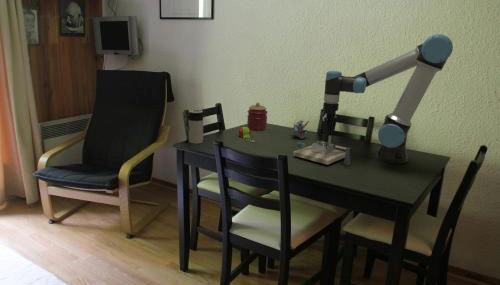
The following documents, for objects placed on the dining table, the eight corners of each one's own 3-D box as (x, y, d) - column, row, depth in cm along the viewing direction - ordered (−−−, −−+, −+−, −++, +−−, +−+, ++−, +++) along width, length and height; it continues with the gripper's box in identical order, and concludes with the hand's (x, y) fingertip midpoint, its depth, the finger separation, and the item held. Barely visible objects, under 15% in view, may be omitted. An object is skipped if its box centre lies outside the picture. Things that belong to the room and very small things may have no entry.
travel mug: (204, 141, 224) (204, 110, 219) (201, 144, 216) (201, 112, 211) (190, 140, 224) (190, 109, 220) (187, 143, 217) (186, 111, 212)
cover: (333, 151, 200) (334, 142, 199) (324, 154, 194) (325, 144, 193) (319, 148, 205) (320, 138, 204) (311, 151, 200) (312, 141, 198)
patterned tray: (347, 156, 200) (348, 148, 199) (327, 164, 186) (328, 156, 185) (308, 146, 216) (309, 139, 215) (286, 153, 201) (287, 146, 200)
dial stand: (349, 165, 190) (351, 148, 188) (347, 166, 189) (349, 149, 187) (335, 161, 195) (336, 145, 193) (333, 162, 194) (334, 145, 192)
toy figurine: (307, 141, 232) (308, 121, 229) (288, 139, 234) (289, 120, 231) (308, 136, 243) (309, 117, 239) (290, 135, 245) (291, 116, 242)
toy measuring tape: (245, 134, 242) (246, 124, 240) (257, 143, 224) (258, 131, 223) (236, 135, 240) (236, 125, 238) (247, 143, 222) (247, 132, 220)
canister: (257, 126, 266) (258, 100, 261) (270, 130, 256) (272, 103, 251) (242, 128, 257) (243, 101, 253) (255, 132, 248) (256, 105, 243)
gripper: (331, 100, 204) (327, 143, 210) (317, 102, 195) (313, 148, 201) (344, 102, 199) (339, 146, 205) (330, 104, 190) (326, 151, 196)
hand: (326, 147), depth 203 cm, fingers closed
